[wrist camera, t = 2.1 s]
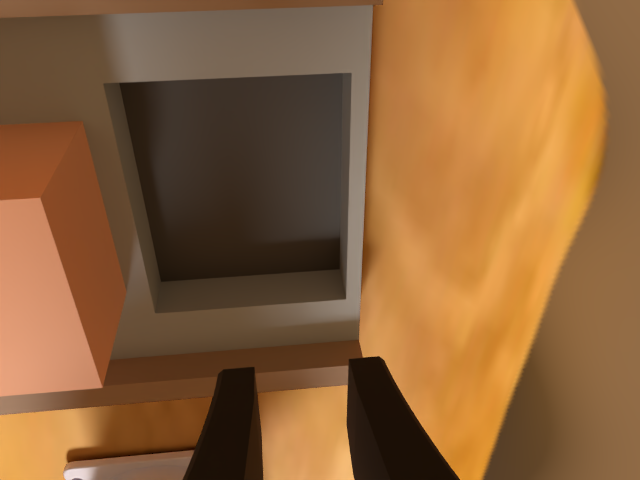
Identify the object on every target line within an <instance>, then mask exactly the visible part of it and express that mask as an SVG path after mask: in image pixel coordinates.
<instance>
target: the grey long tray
mask: <svg viewBox="0 0 640 480" xmlns="http://www.w3.org/2000/svg"><path fill="white" fill-rule="evenodd" d="M373 5H383V0H0V125H9V124H29V123H50V122H71V121H83V125H84V129H85V133H86V137H87V140H88V144H89V148H90V152H91V156H92V160H93V164H94V168H95V172H96V175H97V179H98V183H99V187H100V191H101V195H102V199H103V203H104V207H105V210H106V214H107V218H108V222H109V226H110V230H111V234H112V238H113V242H114V245H115V249H116V253H117V257H118V261H119V265H120V269H121V273H122V276H123V280H124V284H125V288H126V292H127V293H126V297H125V301H124V305H123V309H122V313H121V317H120V321H119V325H118V329H117V333H116V337H115V341H114V345H113V349H112V353H111V356H110V360H109V364H108V368H107V372H106V376H105V380H104V384H103V388H96V389H84V390H72V391H60V392H48V393H36V394H24V395H13V396H1V397H0V415H6V414H17V413H29V412H40V411H52V410H63V409H75V408H87V407H98V406H110V405H121V404H133V403H144V402H156V401H167V400H179V399H190V398H202V397H213V395H214V391H215V387H216V382H217V377H218V374H219V373H220V372H221V371H222V370H223V369H233V368H245V367H255V376H256V386H257V393H260V392H271V391H283V390H294V389H306V388H317V387H329V386H340V385H348V364H349V359H354V358H363V357H362V352H361V348H360V343H359V322H360V299H361V276H362V252H363V229H364V206H365V182H366V159H367V135H368V112H369V89H370V65H371V42H372V18H373Z"/></svg>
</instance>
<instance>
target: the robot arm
mask: <svg viewBox="0 0 640 480" xmlns="http://www.w3.org/2000/svg"><path fill="white" fill-rule="evenodd" d="M347 431H348V439H349V446H350V454H351V461H352V468H353V475H354V479H355V480H460V479H459V478H458V476H457V475H456V474H455V472H454V471H453V470H452V469H451V467H450V466H449V464H448V463H447V462H446V460H445V459H444V458H443V456H442V455H441V453H440V452H439V451H438V449H437V448H436V446H435V445H434V443H433V442H432V440H431V439H430V437H429V436H428V434H427V433H426V432H425V430H424V429H423V427H422V426H421V424H420V423H419V421H418V419H417V418H416V416H415V415H414V413H413V412H412V410H411V408H410V407H409V405H408V403H407V402H406V400H405V398H404V397H403V395H402V393H401V392H400V390H399V388H398V386H397V385H396V383H395V381H394V379H393V377H392V375H391V373H390V371H389V370H388V367H387V365H386V363H385V361H384V360H383V359H382V358H380V357H379V356H378V357H366V358H354V359H349V364H348V397H347ZM63 475H64V478H65V480H263V460H262V436H261V424H260V415H259V405H258V395H257V386H256V376H255V367H245V368H233V369H223V370H222V371H221V372H220V373H219V374H218V377H217V382H216V387H215V391H214V395H213V398H212V402H211V405H210V408H209V412H208V415H207V418H206V421H205V424H204V426H203V429H202V432H201V435H200V437H199V440H198V443H197V445H196V448H195V450H189V451H179V452H168V453H157V454H147V455H136V456H125V457H115V458H104V459H93V460H83V461H73V462H69V463H68V464H66V466H65V468H64V471H63Z"/></svg>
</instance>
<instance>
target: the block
mask: <svg viewBox="0 0 640 480" xmlns="http://www.w3.org/2000/svg"><path fill="white" fill-rule="evenodd" d="M126 293H127V292H126V288H125V284H124V280H123V276H122V273H121V269H120V265H119V261H118V257H117V253H116V249H115V245H114V242H113V238H112V234H111V230H110V226H109V222H108V218H107V214H106V210H105V207H104V203H103V199H102V195H101V191H100V187H99V183H98V179H97V175H96V172H95V168H94V164H93V160H92V156H91V152H90V148H89V144H88V140H87V137H86V133H85V129H84V125H83V121H71V122H50V123H29V124H9V125H0V397H1V396H13V395H24V394H36V393H48V392H60V391H72V390H84V389H96V388H103V384H104V380H105V376H106V372H107V368H108V364H109V360H110V356H111V353H112V349H113V345H114V341H115V337H116V333H117V329H118V325H119V321H120V317H121V313H122V309H123V305H124V301H125V297H126Z"/></svg>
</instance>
